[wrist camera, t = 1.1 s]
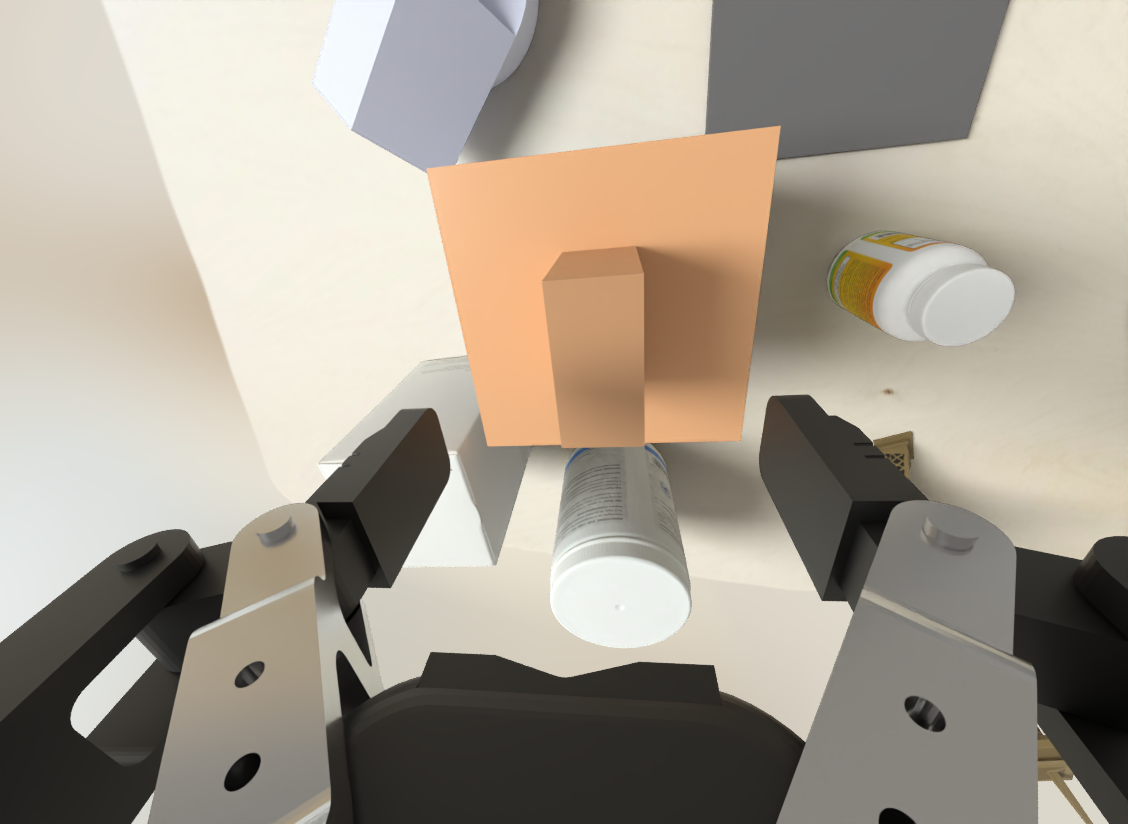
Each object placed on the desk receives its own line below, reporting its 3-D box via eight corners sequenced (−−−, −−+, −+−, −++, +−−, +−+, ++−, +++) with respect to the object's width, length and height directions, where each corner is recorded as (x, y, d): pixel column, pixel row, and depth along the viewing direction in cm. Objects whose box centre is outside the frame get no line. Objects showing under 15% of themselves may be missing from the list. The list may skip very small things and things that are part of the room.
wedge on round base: (462, 183, 29) (569, -35, 23) (425, 185, 23) (554, -105, 18) (344, 93, 27) (427, -168, 21) (270, 70, 22) (357, -296, 16)
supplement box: (418, 359, 36) (308, 460, 23) (517, 348, 35) (459, 450, 22) (447, 445, 41) (368, 572, 28) (536, 439, 39) (498, 569, 26)
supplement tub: (558, 496, 42) (534, 635, 30) (576, 418, 38) (556, 542, 25) (652, 516, 42) (668, 663, 30) (681, 440, 38) (716, 575, 25)
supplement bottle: (848, 324, 31) (934, 379, 23) (809, 270, 30) (887, 307, 21) (925, 273, 29) (1052, 312, 20) (888, 211, 27) (1009, 226, 19)
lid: (760, 132, 17) (862, 100, 10) (729, 416, 23) (778, 520, 16) (447, 169, 18) (347, 165, 12) (498, 423, 25) (453, 518, 18)
